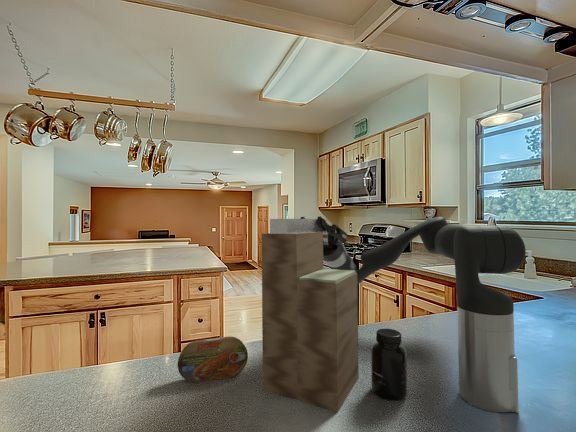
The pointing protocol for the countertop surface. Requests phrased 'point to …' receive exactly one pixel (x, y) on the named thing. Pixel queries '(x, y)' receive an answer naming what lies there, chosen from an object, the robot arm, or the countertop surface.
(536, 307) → the countertop surface
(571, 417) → the countertop surface
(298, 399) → the walnut stand
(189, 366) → the tin
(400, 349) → the supplement bottle
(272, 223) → the steel bar
